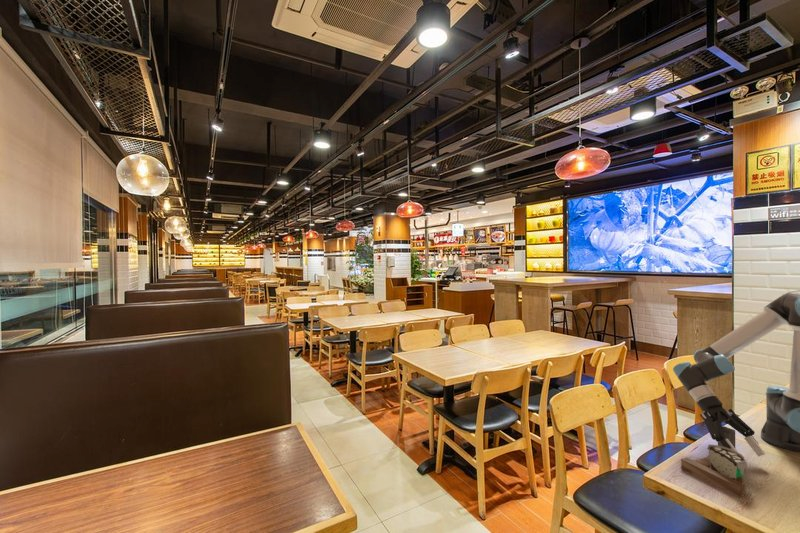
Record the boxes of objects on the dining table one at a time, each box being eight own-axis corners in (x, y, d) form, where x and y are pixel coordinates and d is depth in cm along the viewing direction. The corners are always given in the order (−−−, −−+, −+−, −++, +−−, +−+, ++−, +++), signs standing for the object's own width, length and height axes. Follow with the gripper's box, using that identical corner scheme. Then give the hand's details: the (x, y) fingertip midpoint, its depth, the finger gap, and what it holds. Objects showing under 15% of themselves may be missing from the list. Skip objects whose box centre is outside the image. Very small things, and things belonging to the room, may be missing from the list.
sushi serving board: (724, 454, 138) (723, 426, 138) (783, 479, 122) (783, 447, 122) (681, 468, 129) (680, 438, 129) (739, 497, 113) (739, 463, 113)
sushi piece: (758, 493, 115) (758, 463, 115) (739, 492, 115) (738, 462, 115) (724, 470, 127) (724, 443, 127) (707, 470, 127) (707, 443, 127)
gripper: (721, 400, 148) (766, 456, 133) (676, 405, 144) (717, 463, 129) (735, 392, 143) (783, 450, 128) (688, 397, 139) (732, 457, 124)
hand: (750, 456), depth 129 cm, fingers open, 10 cm apart
